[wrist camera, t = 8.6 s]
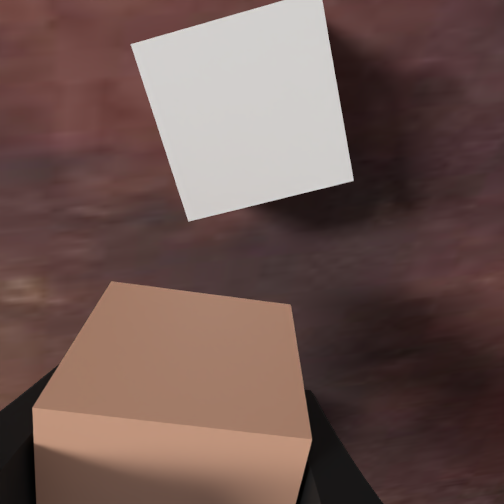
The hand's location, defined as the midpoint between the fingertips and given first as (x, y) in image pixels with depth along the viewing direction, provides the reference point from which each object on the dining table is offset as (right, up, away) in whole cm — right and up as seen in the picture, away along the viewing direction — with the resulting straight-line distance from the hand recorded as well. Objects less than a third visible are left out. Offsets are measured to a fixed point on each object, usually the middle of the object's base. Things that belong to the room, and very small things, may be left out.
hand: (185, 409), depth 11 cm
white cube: (+2, +9, +6) cm, 11 cm away
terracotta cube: (0, +1, +2) cm, 2 cm away
